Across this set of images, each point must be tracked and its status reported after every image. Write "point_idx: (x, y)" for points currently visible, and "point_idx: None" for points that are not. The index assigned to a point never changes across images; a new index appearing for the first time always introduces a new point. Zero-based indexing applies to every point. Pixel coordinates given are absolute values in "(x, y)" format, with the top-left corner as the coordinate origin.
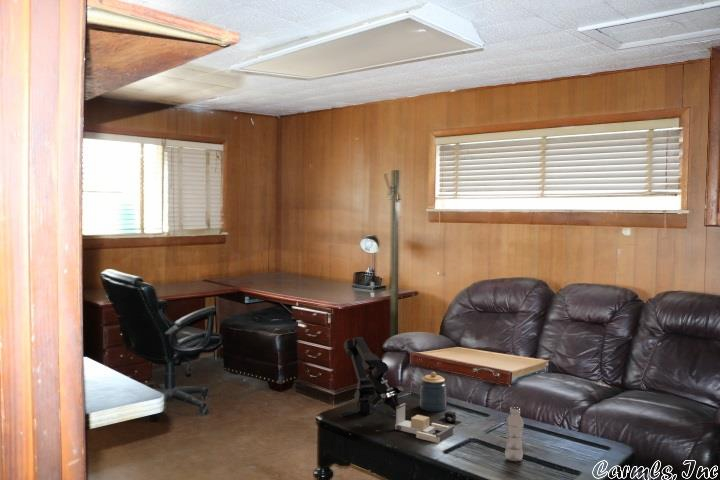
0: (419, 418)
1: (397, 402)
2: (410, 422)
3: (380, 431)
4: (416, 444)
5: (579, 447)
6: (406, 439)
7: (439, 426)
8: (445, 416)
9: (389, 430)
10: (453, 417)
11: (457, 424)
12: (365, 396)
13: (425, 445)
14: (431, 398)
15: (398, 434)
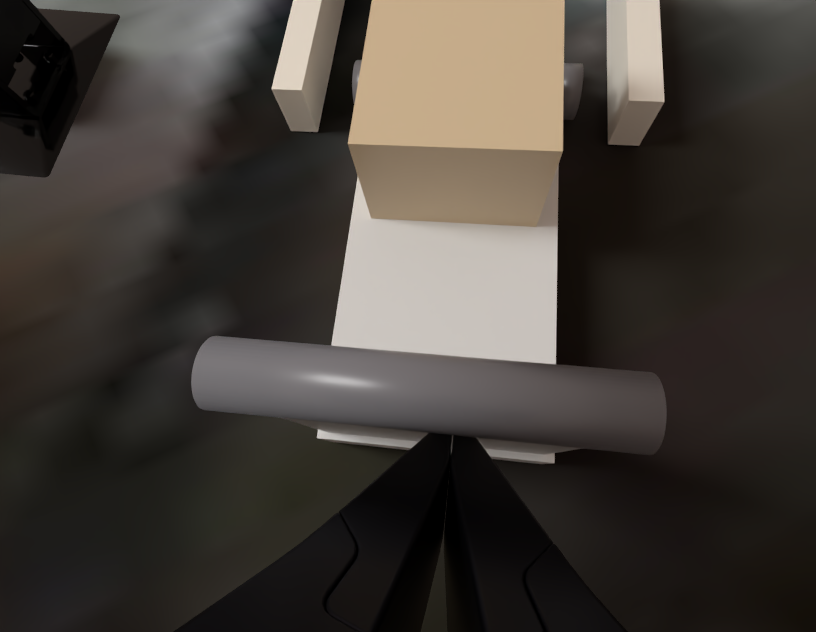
0: (505, 49)
1: (388, 527)
2: (376, 304)
3: (762, 614)
4: (806, 70)
5: None
6: (761, 200)
7: (323, 20)
8: (5, 81)
9: (637, 510)
10: (29, 3)
11: (100, 13)
12: None
13: (763, 5)
14: None
15: (686, 341)
